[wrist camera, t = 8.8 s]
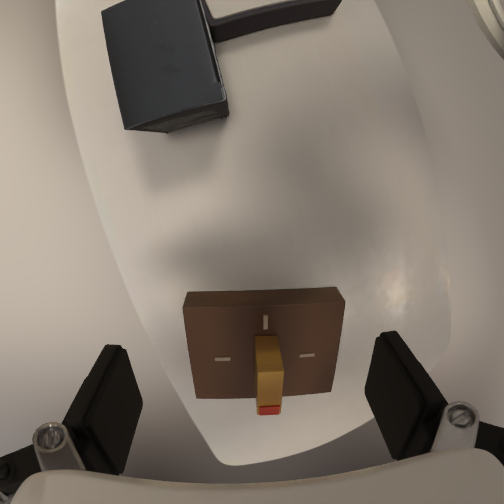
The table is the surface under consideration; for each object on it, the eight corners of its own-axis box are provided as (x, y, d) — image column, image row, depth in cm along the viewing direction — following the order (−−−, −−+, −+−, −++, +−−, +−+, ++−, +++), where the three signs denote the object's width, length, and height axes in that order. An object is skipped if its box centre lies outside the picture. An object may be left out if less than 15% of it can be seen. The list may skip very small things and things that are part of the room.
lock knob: (254, 335, 27) (257, 374, 22) (277, 335, 27) (284, 373, 22) (254, 377, 29) (257, 417, 24) (274, 376, 29) (280, 415, 24)
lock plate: (336, 286, 29) (346, 302, 26) (325, 374, 33) (331, 393, 30) (187, 291, 29) (182, 308, 26) (198, 380, 32) (196, 399, 29)
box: (146, 52, 22) (96, 7, 11) (210, 33, 21) (195, -28, 11) (166, 136, 24) (119, 132, 14) (232, 118, 24) (227, 99, 14)
